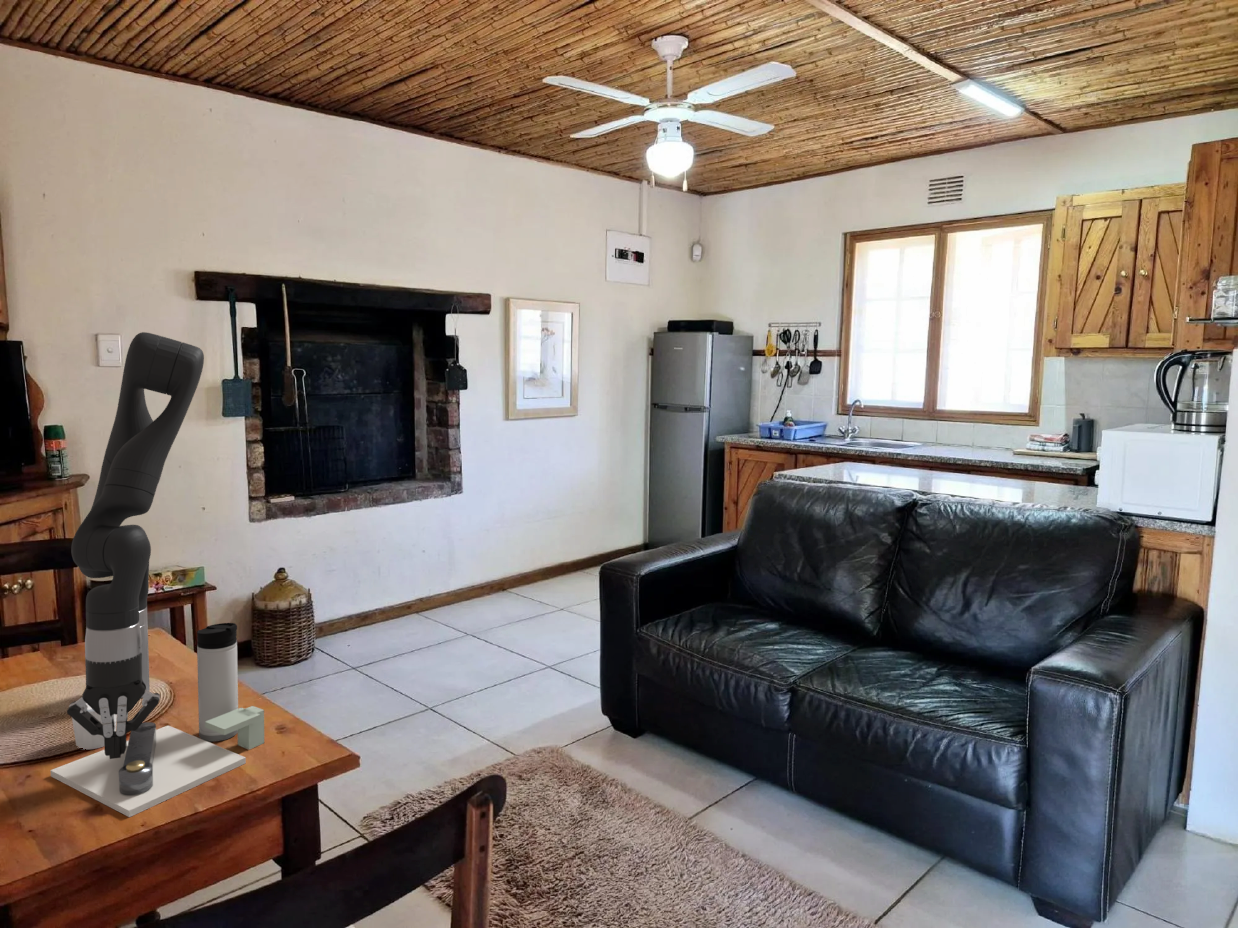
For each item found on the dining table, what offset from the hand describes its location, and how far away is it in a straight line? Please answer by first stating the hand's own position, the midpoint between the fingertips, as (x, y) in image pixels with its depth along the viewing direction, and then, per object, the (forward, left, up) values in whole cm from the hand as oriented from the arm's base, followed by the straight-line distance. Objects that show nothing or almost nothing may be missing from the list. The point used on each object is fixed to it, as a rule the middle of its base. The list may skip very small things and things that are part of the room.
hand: (116, 755), depth 129 cm
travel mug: (+2, +17, -3) cm, 17 cm away
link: (+3, +2, -1) cm, 4 cm away
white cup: (-13, +4, -3) cm, 13 cm away
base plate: (+4, +3, -3) cm, 6 cm away
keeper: (+9, +15, -2) cm, 18 cm away
